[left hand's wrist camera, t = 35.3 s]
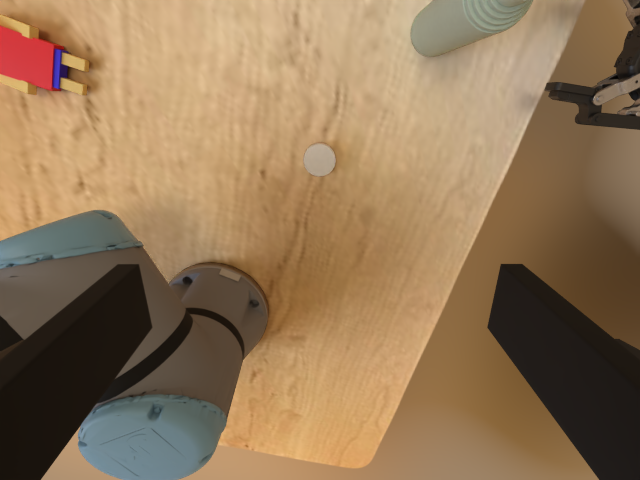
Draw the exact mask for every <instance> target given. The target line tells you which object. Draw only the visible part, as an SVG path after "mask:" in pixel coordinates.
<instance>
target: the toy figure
mask: <svg viewBox="0 0 640 480" xmlns="http://www.w3.org/2000/svg"><path fill="white" fill-rule="evenodd" d="M68 66H70V67H73V68H76V69H78V70H81V71H85V72H89V61H88V60H85V59H82V58H79V57H77V56H74V55H71V54H69V52H67V51H65V50H64V46H61V45H58V44H55V43H52V42H49V41H46V40H43V39H41V38H39V29H38V28H36V27H33V26H31V25H28V24H26V23H23V22H20V21H18V20H15V19H13V18H10V17H7V16H5V15H1V14H0V82H1V83H3V84H5V85H8V86H10V87H12V88H15V89H17V90H19V91H22V92H24V93H27V94H33V95H36V91H37V86H38V87H41V88H44V89H47V90H50V91H61V89H65V90H68V91H71V92H74V93H77V94H80V95H87V85H86V84H83V83H80V82H77V81H74V80H71V79H68V78H67V70H68Z"/></svg>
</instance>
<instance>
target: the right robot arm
mask: <svg viewBox="0 0 640 480" xmlns="http://www.w3.org/2000/svg"><path fill="white" fill-rule="evenodd" d="M623 1H624V3H625V5H626V7H627V9H628V10H627V12H626V16H627V18H628V19H629V21H630V23H631V25H632V27H633V28H634V29H633V30H632V31H629V32H628V34H627V36H626V39H625V43H624V48H623V51H622V52H621V54H620V55H619V57H618V58H617V61H616V63H615V66H614V67H617V68H616V74H614V75H612V76H610V77H608V78H606V79H604V80H602V81H600V82H599V83H598V84H597V85H596V86H594V87H586V86H580V85H574V84H568V83H561V82H552V83H547V84H546V87H545V90H544V91H549V92H550V93H549V97H550V98H551V99H553V100H559V101H566V102H571V103H576V104H577V105H578V106H579V113H578V114H577V115H576V117H575V122H576V123H577V124H584V125H594V126H605V127H616V128H627V129H638V130H640V0H623ZM627 93H629V95H630V96H631V98H632V99H633V100H635V103H634V104H633V105H632V106H630V107H625V108H623V109H622V110H621V111H618V112H617V114H608V113H601V107H602V104H603V103H605V102H607V101H609V100H611V99H613V98H615V97H617V96H620V95H624V94H627Z"/></svg>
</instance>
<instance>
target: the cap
mask: <svg viewBox="0 0 640 480" xmlns="http://www.w3.org/2000/svg"><path fill="white" fill-rule="evenodd" d="M335 162H336V158H335V154H334V151H333V149H332V148H331V147H330V146H329V145H327V144H325V143H322V142H318V143H314V144H312V145H310V146H309V147H308V148H307V150H306V152H305V154H304V166H305V168H306V170H307V171H308V172H309V173H310V174H312V175H314V176H325V175H327V174H329V173H330V172H331V171H332V170H333V168H334V166H335Z"/></svg>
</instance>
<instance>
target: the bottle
mask: <svg viewBox="0 0 640 480" xmlns="http://www.w3.org/2000/svg"><path fill="white" fill-rule="evenodd" d="M532 1H533V0H433V1H432V2H431V3H430V4H429V5H427V6H426V7H425V8H424V9H423V10H422V11H421V12H420V13H419V14H418V15H417V16H416V18H415V20H414V22H413V24H412V28H411V40H412V43H413V46H414V48H415V49H416V50H417V51H418V52H419V53H420V54H422V55H424V56H427V57H435V56H439V55H441V54H444V53H447V52H449V51H452V50H455V49H457V48H460V47H463V46H465V45H468V44H471V43H473V42H476V41H479V40H481V39H484V38H487V37H489V36H492V35H495V34H497V33H500V32H502V31H505V30H507V29H509V28H511V27H512V26H513V25H515V24H516V23H517V22H518V21H519V20H520V19H521V18H522V17H523V16H524V15H525V13H526V12H527V11H528V9H529V7H530V6H531V4H532Z"/></svg>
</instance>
